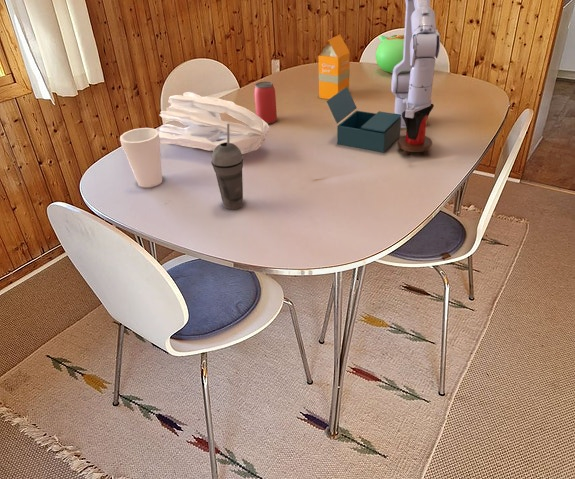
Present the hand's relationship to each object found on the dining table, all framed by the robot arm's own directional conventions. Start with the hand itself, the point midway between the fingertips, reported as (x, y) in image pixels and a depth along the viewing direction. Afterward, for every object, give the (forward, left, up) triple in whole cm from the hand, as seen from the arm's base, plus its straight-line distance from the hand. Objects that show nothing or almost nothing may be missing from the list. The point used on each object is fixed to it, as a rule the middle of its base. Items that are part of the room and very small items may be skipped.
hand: (415, 134), depth 133 cm
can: (0, 0, -2) cm, 2 cm away
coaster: (0, 0, -5) cm, 5 cm away
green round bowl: (-27, -69, -6) cm, 74 cm away
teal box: (+8, -12, -5) cm, 15 cm away
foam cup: (+71, -8, -6) cm, 72 cm away
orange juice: (+5, -53, -6) cm, 54 cm away
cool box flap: (+14, -18, +5) cm, 23 cm away
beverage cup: (+52, +11, -6) cm, 53 cm away
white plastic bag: (+53, -22, -6) cm, 58 cm away
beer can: (+33, -38, -6) cm, 51 cm away
